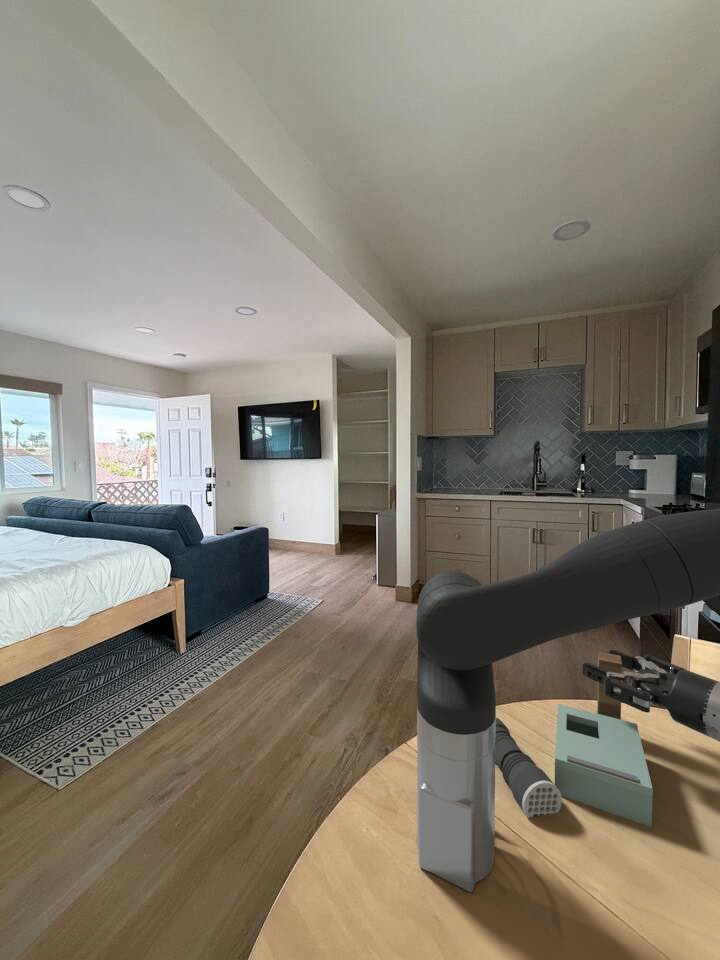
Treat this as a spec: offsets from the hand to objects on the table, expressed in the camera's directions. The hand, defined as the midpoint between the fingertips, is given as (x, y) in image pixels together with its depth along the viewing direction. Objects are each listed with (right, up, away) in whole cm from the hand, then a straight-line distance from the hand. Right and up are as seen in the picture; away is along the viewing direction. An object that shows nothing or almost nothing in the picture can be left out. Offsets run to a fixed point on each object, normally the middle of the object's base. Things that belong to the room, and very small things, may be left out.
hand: (597, 661), depth 68 cm
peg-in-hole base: (-6, -13, -10) cm, 17 cm away
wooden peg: (+1, -13, -1) cm, 13 cm away
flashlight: (-18, -13, -10) cm, 25 cm away
